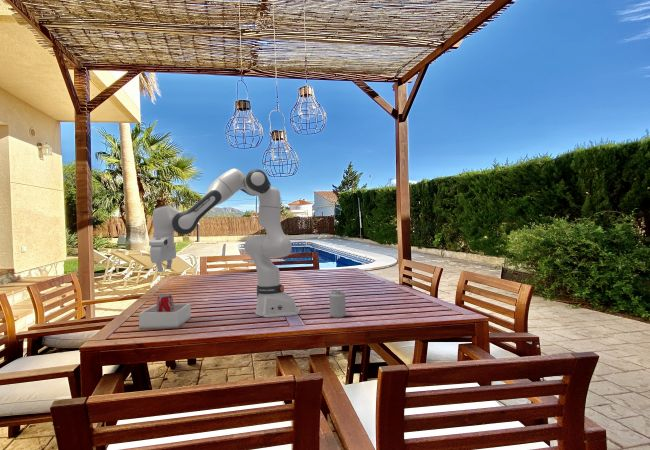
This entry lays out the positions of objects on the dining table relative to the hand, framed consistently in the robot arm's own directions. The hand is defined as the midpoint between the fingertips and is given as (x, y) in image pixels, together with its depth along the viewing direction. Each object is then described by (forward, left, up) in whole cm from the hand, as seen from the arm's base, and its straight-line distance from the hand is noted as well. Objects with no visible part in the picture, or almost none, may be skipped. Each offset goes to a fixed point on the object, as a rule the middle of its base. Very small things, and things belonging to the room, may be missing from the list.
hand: (164, 270), depth 174 cm
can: (-80, -4, -25) cm, 84 cm away
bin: (0, 0, -25) cm, 25 cm away
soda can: (+1, 0, -24) cm, 24 cm away
